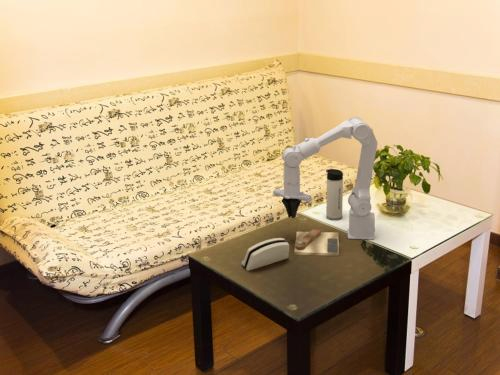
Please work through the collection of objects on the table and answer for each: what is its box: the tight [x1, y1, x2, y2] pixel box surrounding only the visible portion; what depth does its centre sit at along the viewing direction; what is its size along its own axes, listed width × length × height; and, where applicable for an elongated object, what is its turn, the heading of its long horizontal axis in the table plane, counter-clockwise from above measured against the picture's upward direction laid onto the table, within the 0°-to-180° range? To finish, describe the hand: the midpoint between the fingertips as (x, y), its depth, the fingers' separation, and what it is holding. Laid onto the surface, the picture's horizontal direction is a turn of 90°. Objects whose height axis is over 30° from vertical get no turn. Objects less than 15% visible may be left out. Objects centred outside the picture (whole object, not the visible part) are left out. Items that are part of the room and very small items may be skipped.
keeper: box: [327, 238, 338, 253], centre depth 206 cm, size 4×5×3 cm
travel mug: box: [325, 168, 344, 221], centre depth 231 cm, size 6×7×20 cm
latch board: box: [293, 231, 340, 257], centre depth 212 cm, size 16×17×1 cm
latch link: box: [294, 228, 322, 250], centre depth 212 cm, size 15×4×2 cm, turn 148°
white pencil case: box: [240, 237, 290, 272], centre depth 199 cm, size 17×5×10 cm, turn 121°
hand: (292, 216), depth 213 cm, fingers closed
